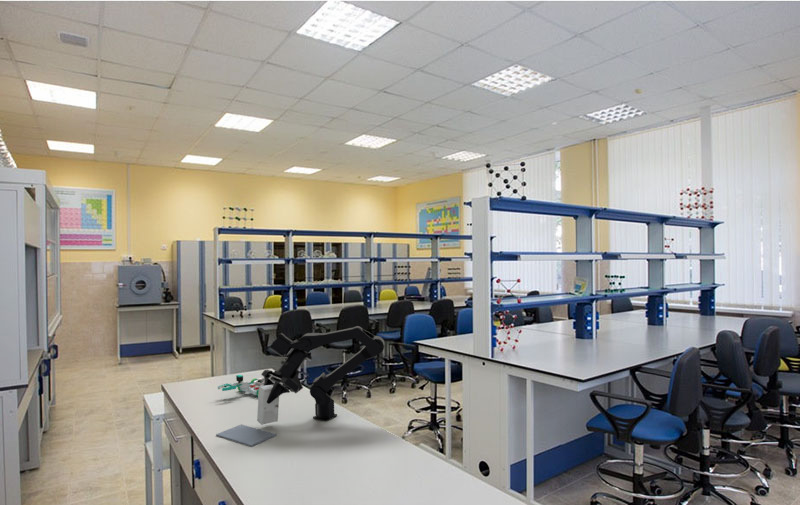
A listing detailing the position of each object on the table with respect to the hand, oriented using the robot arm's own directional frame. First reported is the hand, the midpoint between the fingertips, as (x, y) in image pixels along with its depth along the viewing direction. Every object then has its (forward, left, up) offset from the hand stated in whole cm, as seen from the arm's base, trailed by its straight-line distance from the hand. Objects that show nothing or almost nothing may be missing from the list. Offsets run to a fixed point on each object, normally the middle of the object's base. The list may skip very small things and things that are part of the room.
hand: (264, 401), depth 154 cm
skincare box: (0, -1, -7) cm, 7 cm away
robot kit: (+38, -23, -10) cm, 45 cm away
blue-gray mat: (+1, +8, -9) cm, 12 cm away
